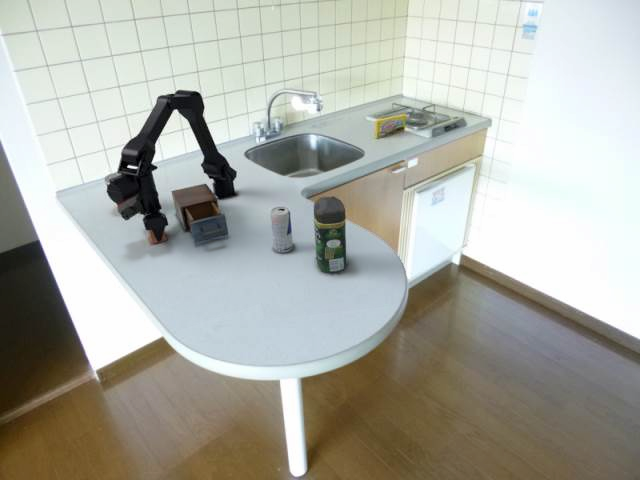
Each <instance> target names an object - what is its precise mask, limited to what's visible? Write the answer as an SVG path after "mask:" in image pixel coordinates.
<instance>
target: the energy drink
mask: <svg viewBox="0 0 640 480" xmlns="http://www.w3.org/2000/svg"><path fill="white" fill-rule="evenodd" d="M291 219H292V218H291V211H290V209H289V207H287V206H275V207H274V208H272V209H271V210H270V222H271V231H272V240H273V249H274V250H275V251H276V252H278V253H288V252H290V251H291V250H293V247H294V243H293V230H292V220H291Z"/></svg>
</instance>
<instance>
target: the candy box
mask: <svg viewBox="0 0 640 480" xmlns="http://www.w3.org/2000/svg"><path fill="white" fill-rule="evenodd" d="M406 118H407V114H404V113H402V114H398V115H394V116H388V117H383V118H379V119H375V120H374V123H375V124H374V136H373V138H374V139H376V140H377V139H382V138H386V137H390V136H395V135H399V134H403V133H405V132H406V121H407V120H406Z"/></svg>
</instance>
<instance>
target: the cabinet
mask: <svg viewBox="0 0 640 480" xmlns="http://www.w3.org/2000/svg"><path fill="white" fill-rule="evenodd" d="M170 192H171V197H172V201H173V206H174V209H175V214H176V216H177V218H178V221H179V222H180V224H181V226H182V228H183V230H184V232H189V231H190V229H189V227H188V225H187V222H186V217H185V212H184V208H188V207H193V206H197V205H201V204H205V203H210V202H214V203H215V205H216V206H217V208H218V209H219V210H220V207H219V202H218V201H219V200H218V197H217V196H216V195H215V194H214V191H212V190H211V188H210V187H209V185H208V184H207V183H202V184H198V185H193V186H187V187H184V188H179V189H175V190H171V191H170Z"/></svg>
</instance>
